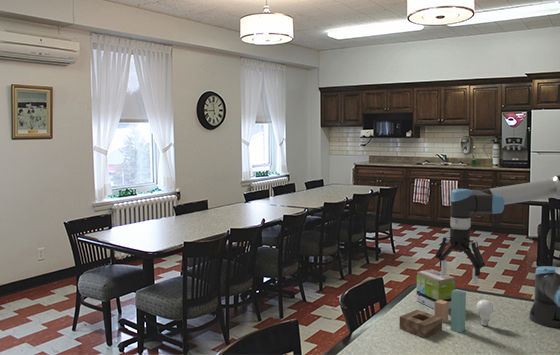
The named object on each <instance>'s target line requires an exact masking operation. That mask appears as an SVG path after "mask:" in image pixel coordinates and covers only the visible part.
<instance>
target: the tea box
mask: <svg viewBox="0 0 560 355" xmlns="http://www.w3.org/2000/svg"><path fill="white" fill-rule="evenodd" d="M453 290H456V277H455V276H451V275H448V274H446V276H443V277H442V276H441V271H438V270H436V269H432V268H431V269H427V270H421V271H417V272H416V302H419V303H421V304H423V305H425V306H426V307H430V308H431V309H434V310H435V301H438V300H443V301H447V302H448V310H451V291H453Z"/></svg>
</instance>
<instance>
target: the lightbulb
mask: <svg viewBox="0 0 560 355" xmlns="http://www.w3.org/2000/svg"><path fill="white" fill-rule="evenodd" d="M476 310H477V312H478V314H479V316H480V325H482V326H483V327H487V326H489V318H490V316H491V314H493V311H494V304H493V303H492V302H491V301H490V300H489V299H485V298H484V299H480V300H478V302H477V303H476Z"/></svg>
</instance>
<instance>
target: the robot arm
mask: <svg viewBox="0 0 560 355" xmlns="http://www.w3.org/2000/svg"><path fill="white" fill-rule="evenodd" d="M551 198H555V199H556V200H560V175H554V176H553V175H552V176H551V178H550V179H543V180H538V181H537V180H536V181H532V182H526V183H519V184H517V183H516V184H512V185H511V184H510V185H503V186H499V187H493V188H487V189H481V190H479V189H472V190H471V189H468V188H455V189H452V190H451V195H450V223H449V225H450V228H449V236H450V237H449V236H445V237H443V238H442V241H441V245H440V247H439V248H438V250H437V251H436V253H435V256H434V257H435V258H436V259H438V260H439V268H440V269H441V270H440V272H441V276H442V277H443V276H446V275H447V267H448V266H447V265H448V264H447V263H448V262H447V261H448V260H447V259H446V258H447V257H448V256H449V255H450V254H451V253H452V252H453V251H456V252H457V251H458V252H463V253H464V254H466V256H467V258H468V259H469V261H470V262H471V264H472V266H473V267H472V275H471V276H472V278H471V279H472V283H471V284H472V285H477V284H478V283H479V282H478V280H479V277H480V276H481V268H484V267H486V263H485V261H484V258H483V256H482V253H481V252H480V249H479V243H478V241H471V240H470V239H471V224H472V223H471V220H472V219H471V217H472V214H492V215H494V214H502V213H503V211H504V210H505V205H512V204H517V203H524V202H530V201H531V202H532V201H537V200H538V201H539V200H544V199H546V200H547V199H551ZM449 243H450V246H448V244H449ZM447 246H448V248H447V250H445V249H446V247H447ZM534 275H535V276H534V277H535V278H534V300H533V303H532V305H531V308H530V310H529V313H528V318H529V319H530V321H532V322H534V323H536V324H538V325H541V326H545V327H550V328H560V267H559V266H558V267H557V266H548V265H547V266H545V265H543V266H538V267H536V269H535V273H534Z"/></svg>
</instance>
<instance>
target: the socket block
mask: <svg viewBox="0 0 560 355" xmlns="http://www.w3.org/2000/svg"><path fill="white" fill-rule="evenodd" d="M399 329H401V330H403V331H405V332H408V333H411V334H413V335H416V336H418V337H421V338H424V339H425V338H428V337H430V336H432V335H434V334H437V333H438V332H441V331H442V330H443V322H442V318H441V317H438V316H435V314H432V313H428V312H425V311H423V310H420V309H415V310H412V311H411V312H407V313H405V314H403V315H400V316H399Z"/></svg>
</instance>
